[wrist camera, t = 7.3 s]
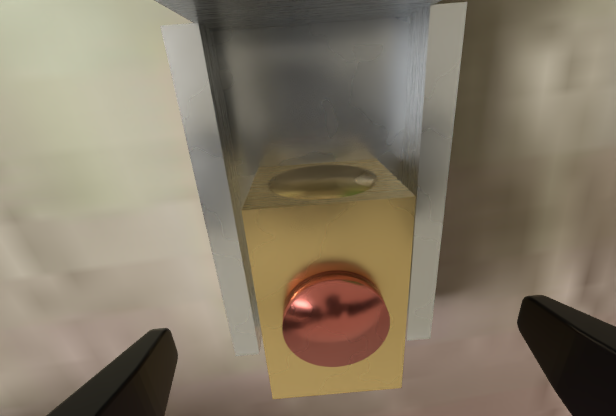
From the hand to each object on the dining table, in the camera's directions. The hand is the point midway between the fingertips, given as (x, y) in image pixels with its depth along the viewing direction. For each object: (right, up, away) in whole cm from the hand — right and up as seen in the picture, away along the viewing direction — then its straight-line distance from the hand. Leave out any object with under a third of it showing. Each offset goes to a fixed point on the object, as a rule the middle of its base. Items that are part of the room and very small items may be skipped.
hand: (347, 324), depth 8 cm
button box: (0, +1, +5) cm, 5 cm away
